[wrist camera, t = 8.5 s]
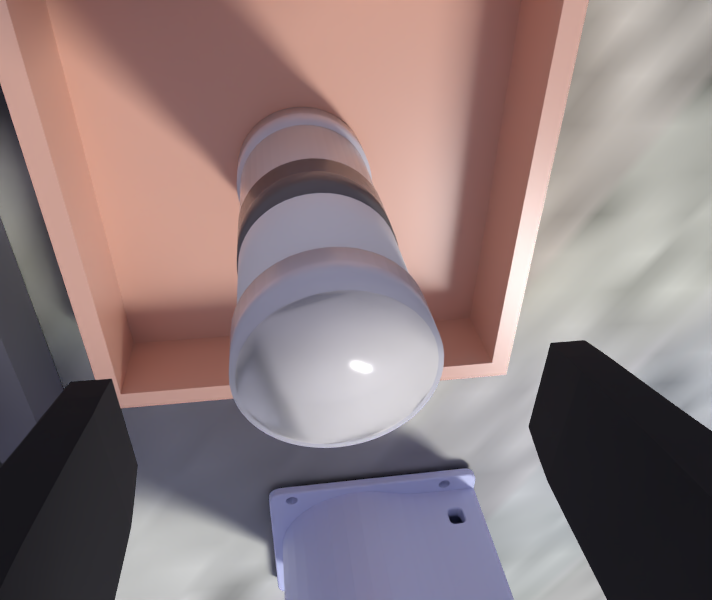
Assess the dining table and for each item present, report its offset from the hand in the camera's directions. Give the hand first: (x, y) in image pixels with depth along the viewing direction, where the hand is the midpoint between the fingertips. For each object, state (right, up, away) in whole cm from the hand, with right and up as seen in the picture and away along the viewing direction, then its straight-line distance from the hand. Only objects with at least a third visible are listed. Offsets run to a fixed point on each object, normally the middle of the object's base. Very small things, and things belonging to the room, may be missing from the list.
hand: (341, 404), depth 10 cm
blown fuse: (-1, +6, +8) cm, 10 cm away
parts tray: (-1, +6, +8) cm, 10 cm away
